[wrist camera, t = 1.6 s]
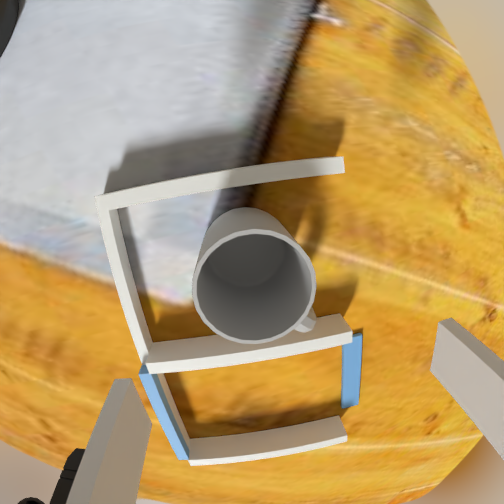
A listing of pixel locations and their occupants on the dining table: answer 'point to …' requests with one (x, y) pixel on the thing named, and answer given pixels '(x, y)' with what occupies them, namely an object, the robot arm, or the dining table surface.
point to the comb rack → (217, 347)
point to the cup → (253, 279)
